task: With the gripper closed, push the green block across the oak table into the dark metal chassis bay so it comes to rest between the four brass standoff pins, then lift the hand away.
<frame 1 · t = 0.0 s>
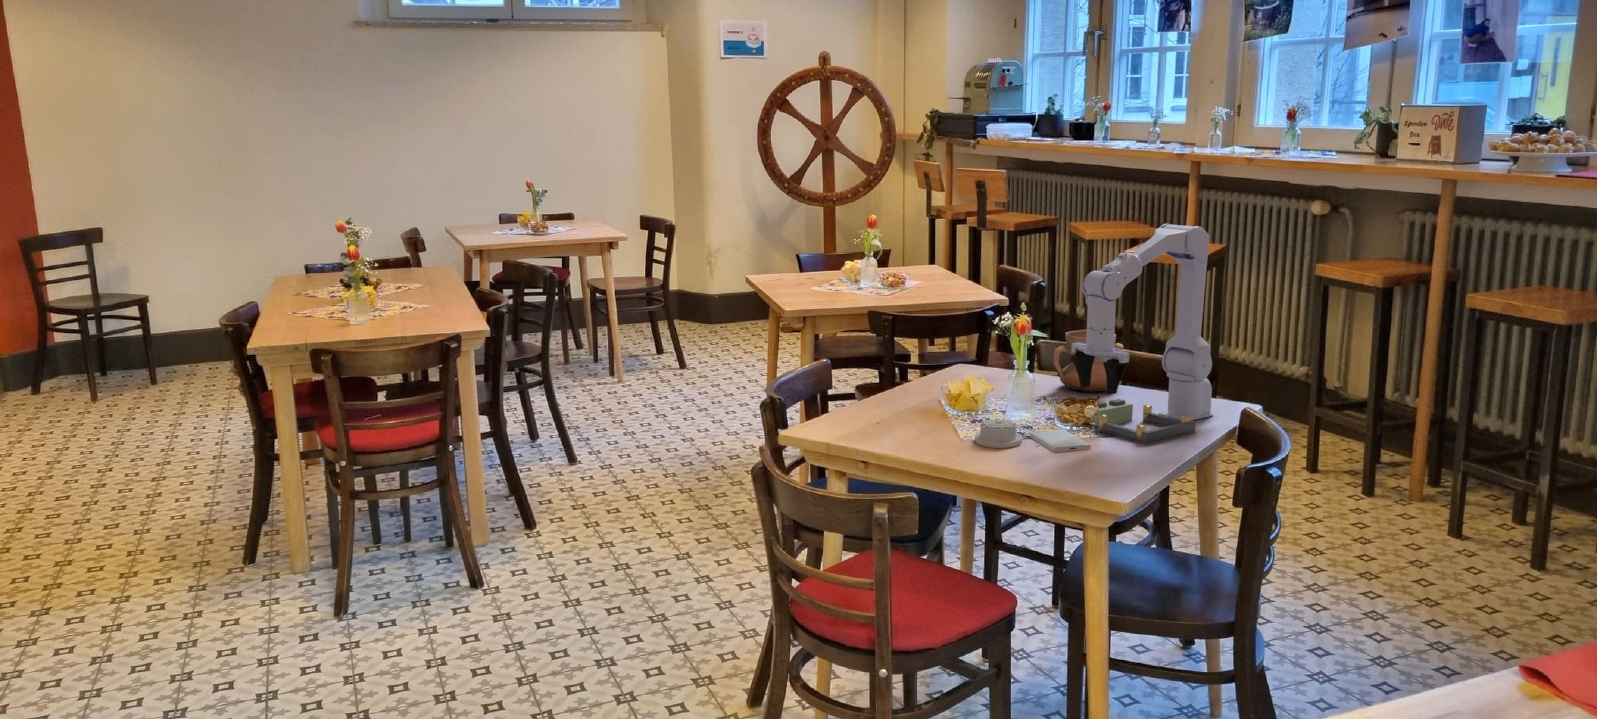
hand: (1098, 390, 248), 10 cm above the table, tool pointing down, fingers open, 7 cm apart
gray cake: (998, 443, 247), on the table
ceramic jug: (1086, 389, 292), on the table
green block: (1108, 422, 262), on the table
chassis: (1142, 430, 253), on the table
hard drive: (1059, 445, 246), on the table
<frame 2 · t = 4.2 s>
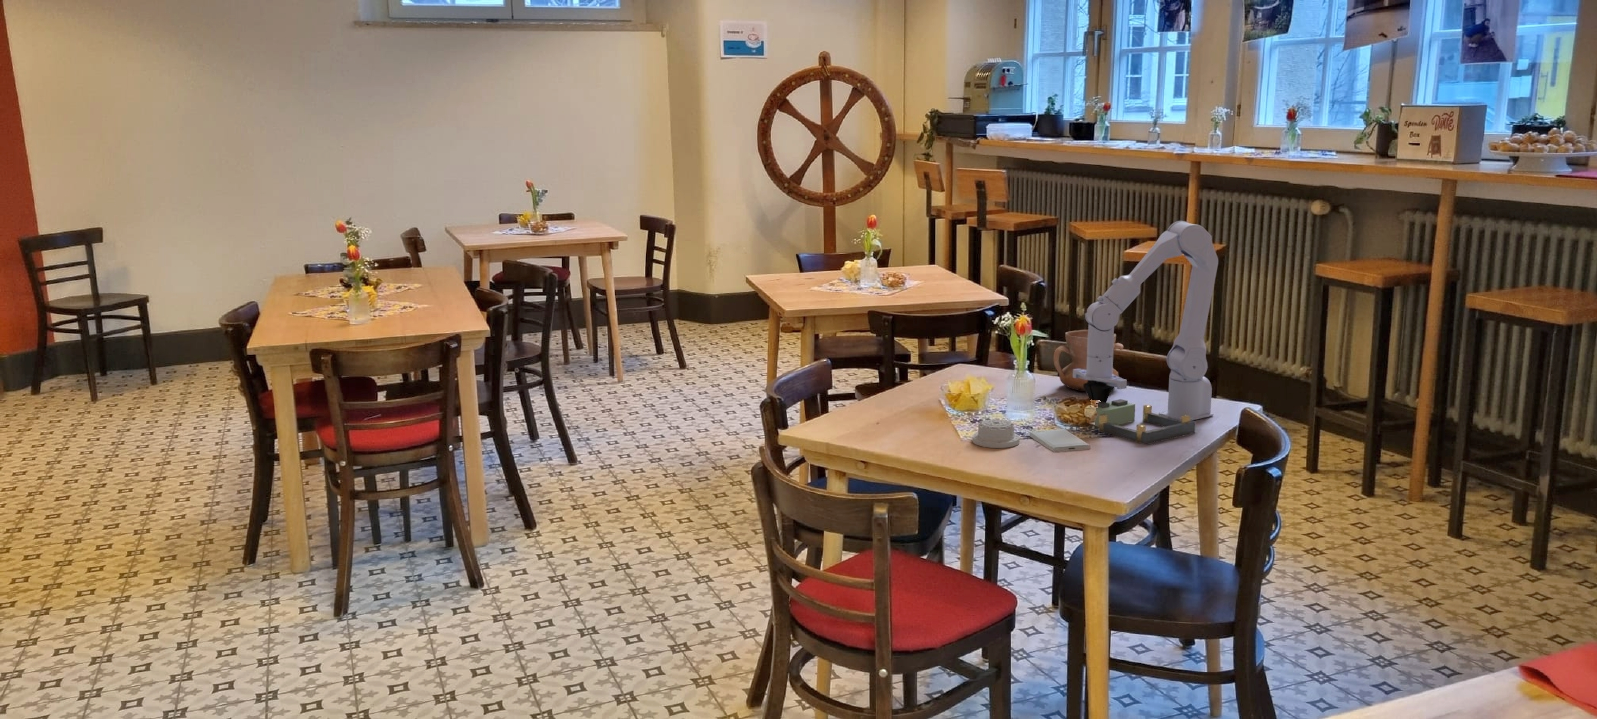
hand: (1097, 413, 264), 1 cm above the table, tool pointing down, fingers closed
green block: (1110, 422, 261), on the table, touching gripper
everything else where it was.
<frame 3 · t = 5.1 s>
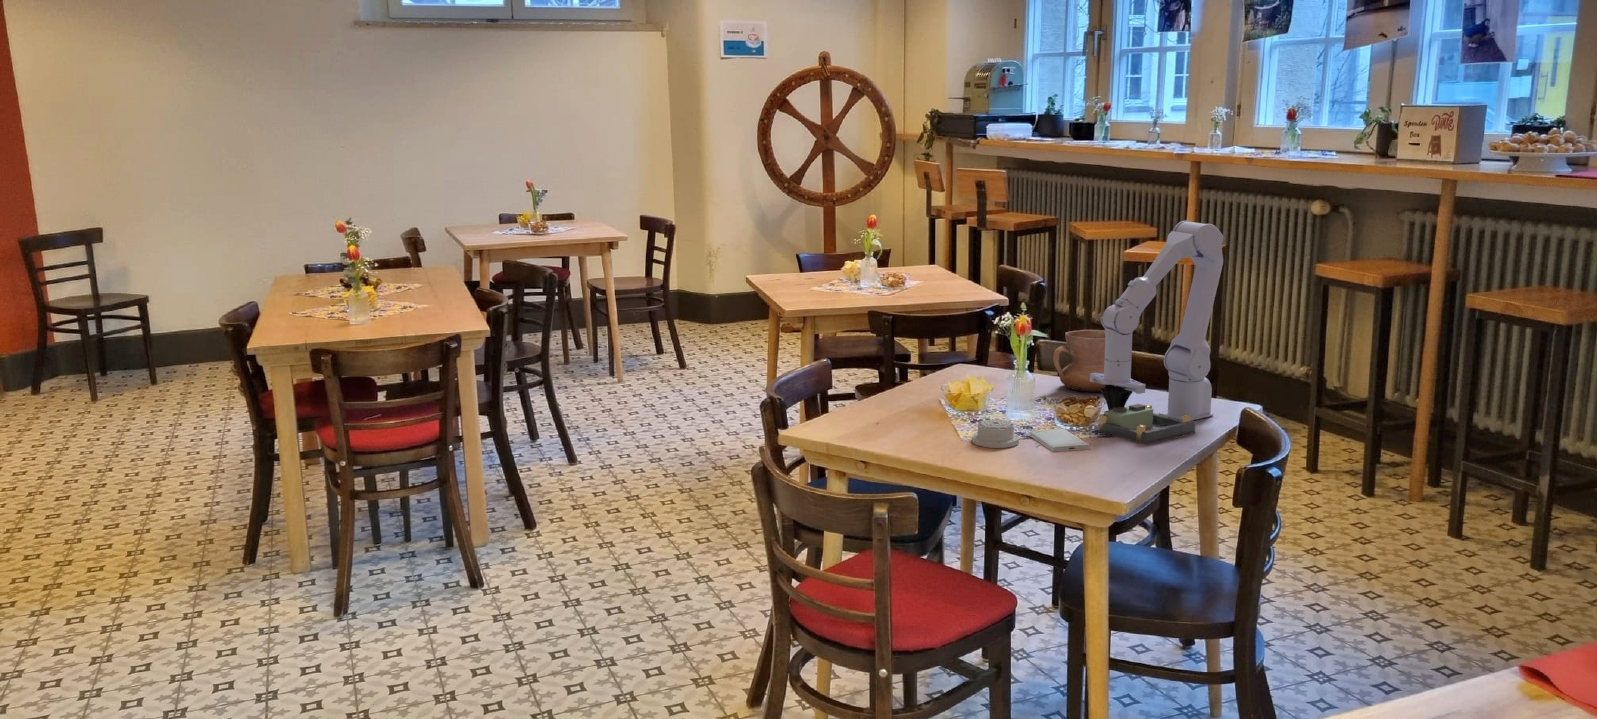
hand: (1115, 418, 260), 1 cm above the table, tool pointing down, fingers closed
green block: (1127, 427, 256), resting in chassis, touching gripper
everything else where it was.
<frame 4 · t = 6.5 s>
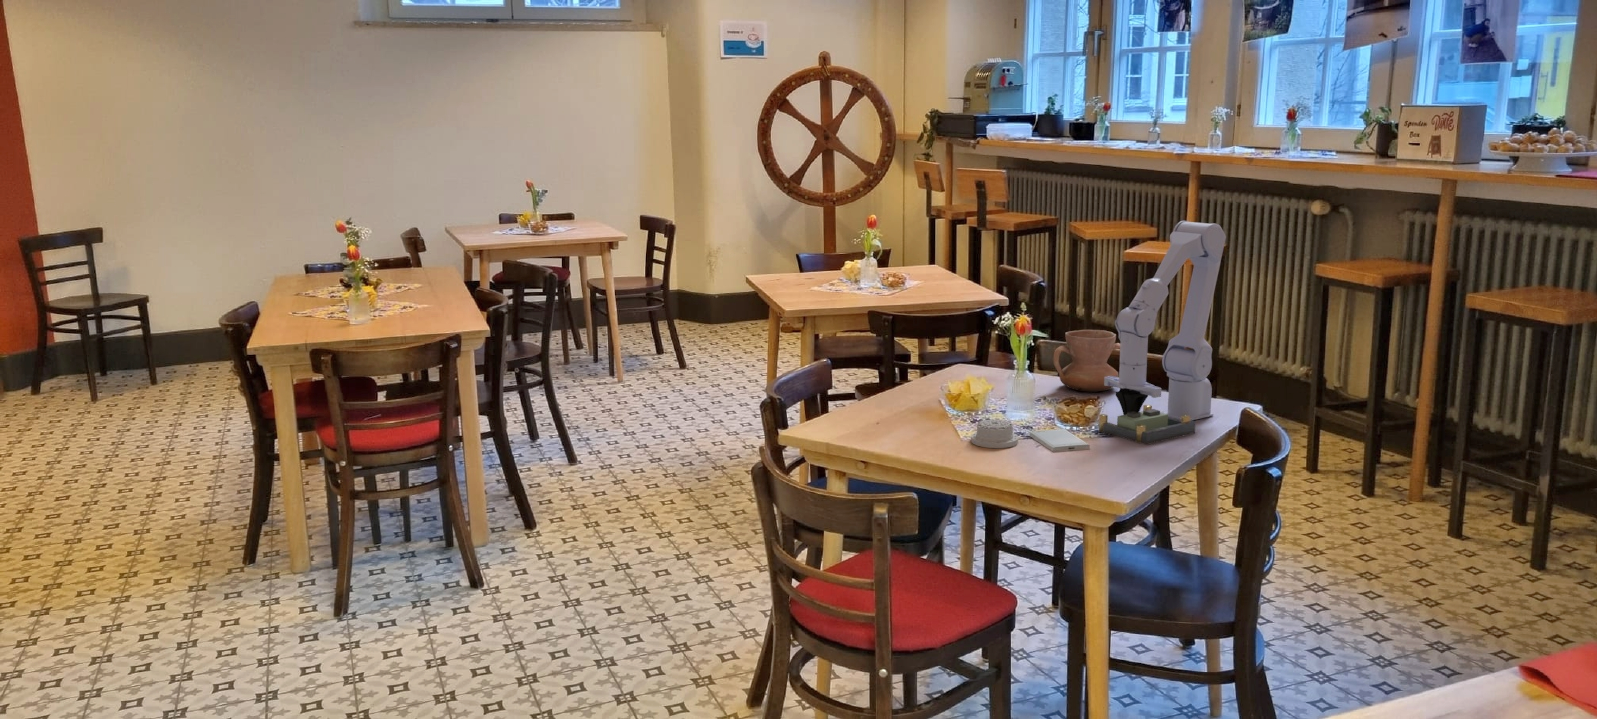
hand: (1130, 422, 256), 1 cm above the table, tool pointing down, fingers closed
green block: (1141, 433, 252), resting in chassis
everything else where it was.
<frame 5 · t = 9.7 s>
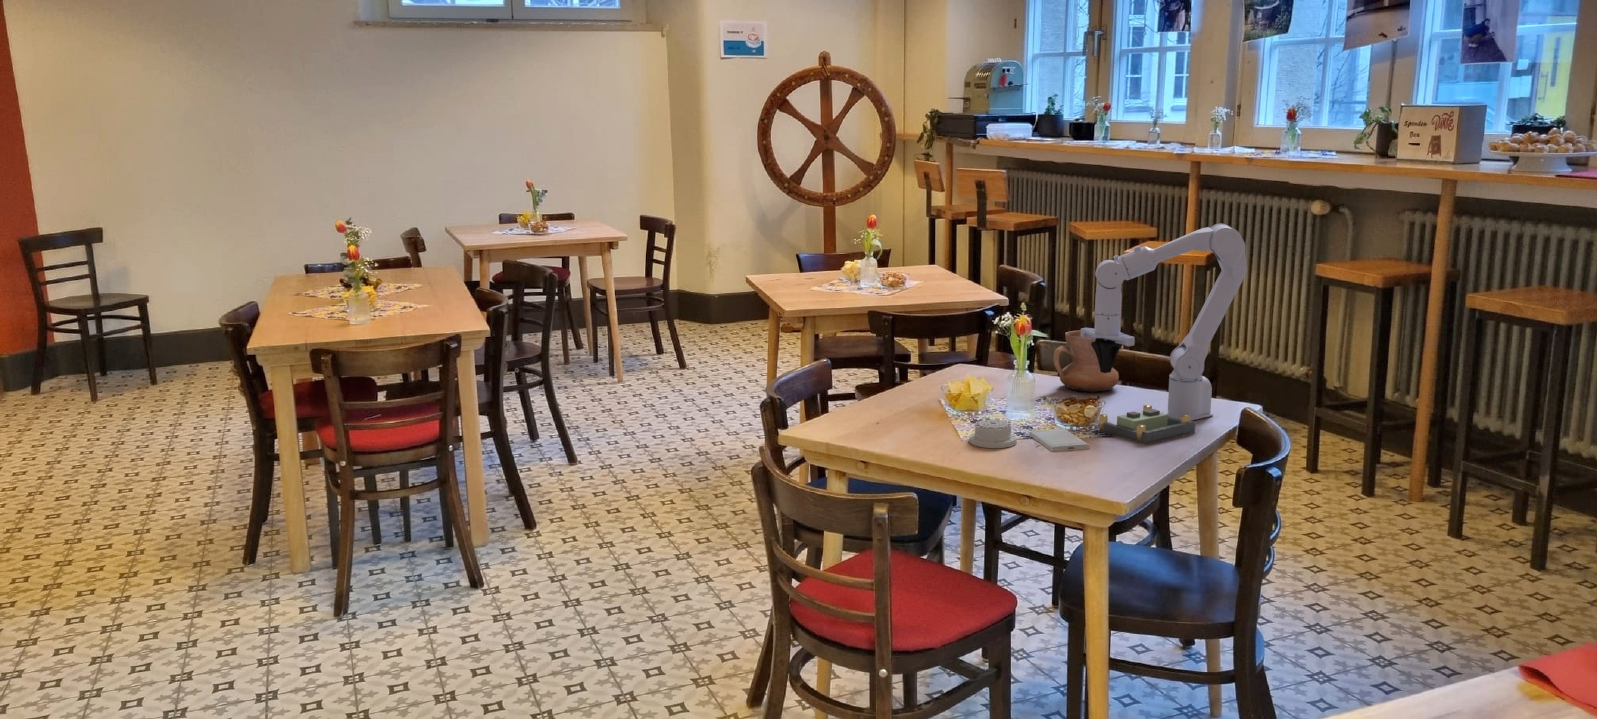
hand: (1105, 372, 266), 10 cm above the table, tool pointing down, fingers closed
at the end: green block 1.5 cm from the target spot on the chassis, point 0.0 cm above the chassis's base; green block moved 10.5 cm from its start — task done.
